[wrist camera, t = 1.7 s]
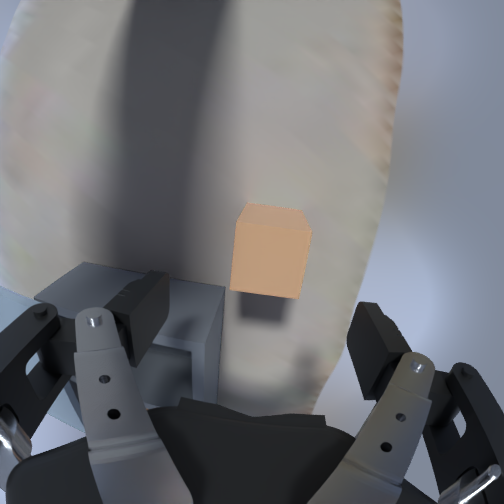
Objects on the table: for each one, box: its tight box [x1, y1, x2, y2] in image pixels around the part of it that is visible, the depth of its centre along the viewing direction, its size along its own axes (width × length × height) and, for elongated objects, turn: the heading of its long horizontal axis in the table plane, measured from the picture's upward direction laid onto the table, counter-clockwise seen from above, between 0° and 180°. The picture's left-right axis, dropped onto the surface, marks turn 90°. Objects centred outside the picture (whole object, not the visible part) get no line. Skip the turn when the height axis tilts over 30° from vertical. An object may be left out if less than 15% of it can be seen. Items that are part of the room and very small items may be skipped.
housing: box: [34, 262, 225, 409], centre depth 22 cm, size 16×14×8 cm
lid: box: [0, 286, 85, 433], centre depth 17 cm, size 16×15×4 cm
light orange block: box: [230, 203, 312, 299], centre depth 18 cm, size 4×4×6 cm
